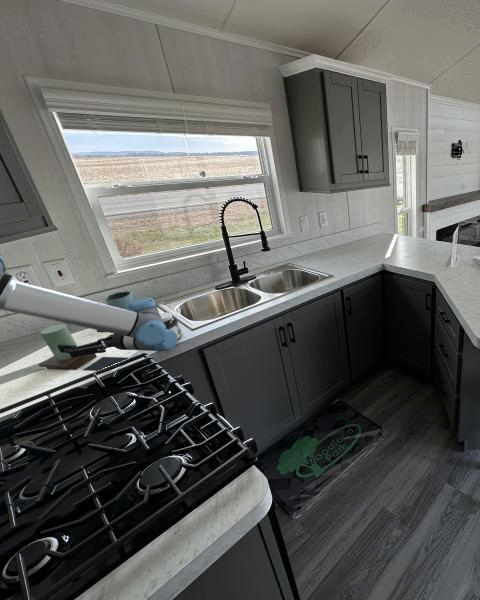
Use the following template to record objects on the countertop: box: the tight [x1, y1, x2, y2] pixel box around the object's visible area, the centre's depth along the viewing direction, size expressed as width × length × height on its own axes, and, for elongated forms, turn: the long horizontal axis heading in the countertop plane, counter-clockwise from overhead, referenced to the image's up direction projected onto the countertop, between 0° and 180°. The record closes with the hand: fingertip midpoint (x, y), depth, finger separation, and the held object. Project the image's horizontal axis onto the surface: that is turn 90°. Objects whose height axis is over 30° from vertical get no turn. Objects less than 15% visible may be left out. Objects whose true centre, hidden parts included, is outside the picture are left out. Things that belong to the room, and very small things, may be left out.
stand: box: [37, 354, 97, 371], centre depth 127 cm, size 12×12×4 cm
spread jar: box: [159, 312, 182, 341], centre depth 140 cm, size 12×11×12 cm
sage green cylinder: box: [40, 323, 78, 361], centre depth 124 cm, size 7×7×12 cm
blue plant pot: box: [104, 290, 134, 310], centre depth 161 cm, size 10×10×12 cm
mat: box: [82, 356, 129, 372], centre depth 124 cm, size 13×13×1 cm
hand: (79, 338), depth 119 cm, fingers open, 13 cm apart
